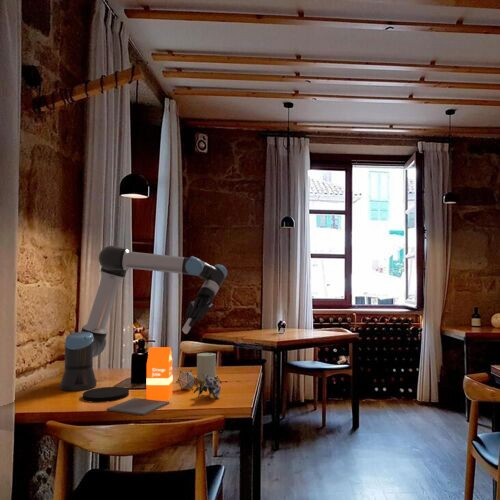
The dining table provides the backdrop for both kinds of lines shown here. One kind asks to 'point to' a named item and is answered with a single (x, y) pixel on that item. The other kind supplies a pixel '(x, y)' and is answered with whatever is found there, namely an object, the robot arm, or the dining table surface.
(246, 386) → the dining table surface
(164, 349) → the orange juice
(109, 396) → the wireless charger
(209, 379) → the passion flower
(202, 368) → the can
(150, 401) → the mat
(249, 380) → the dining table surface
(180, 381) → the game die
